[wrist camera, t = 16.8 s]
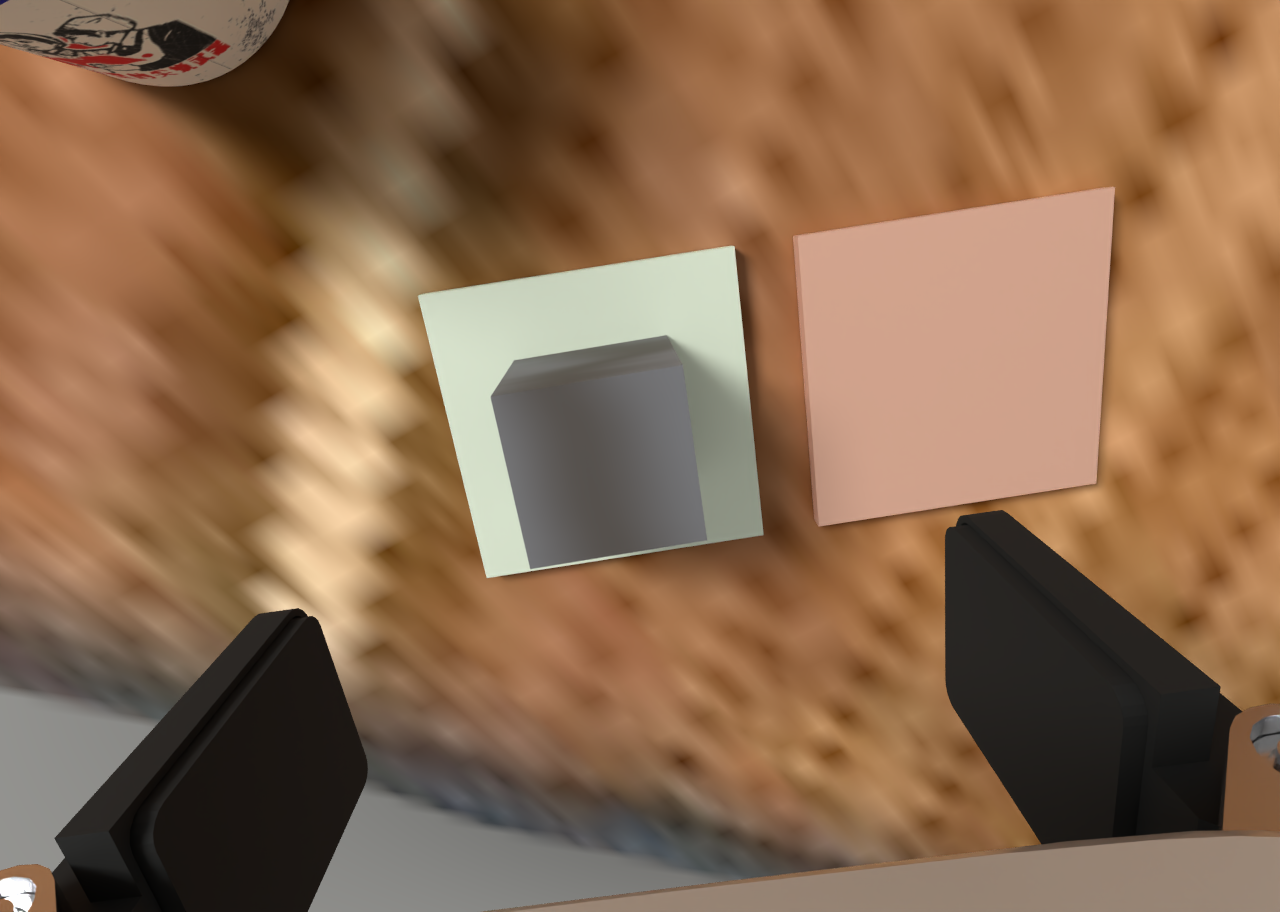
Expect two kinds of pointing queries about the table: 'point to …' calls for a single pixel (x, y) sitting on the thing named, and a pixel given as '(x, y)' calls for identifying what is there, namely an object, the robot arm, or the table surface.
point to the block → (600, 451)
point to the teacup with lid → (143, 35)
